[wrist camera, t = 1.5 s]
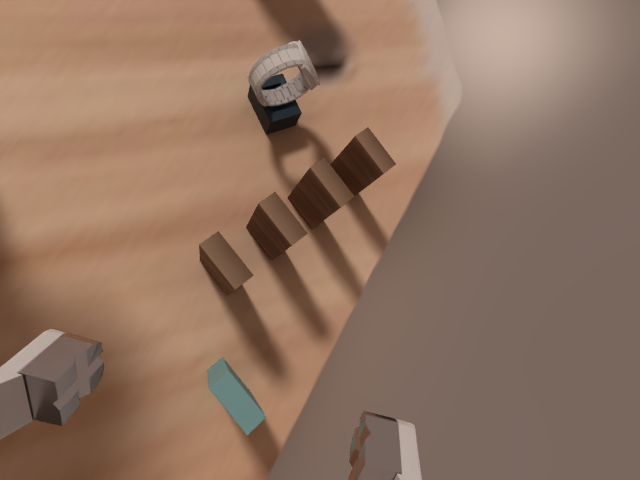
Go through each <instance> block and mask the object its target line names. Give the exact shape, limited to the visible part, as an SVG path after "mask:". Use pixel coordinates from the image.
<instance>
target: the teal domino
mask: <svg viewBox="0 0 640 480" xmlns="http://www.w3.org/2000/svg"><path fill="white" fill-rule="evenodd" d="M207 374H208V384H209V389H210V391H211V392H212V393H213V394H214V395H215V397H216V398H217V399H218V400H219V402H220V403H221V404H222V405H223V406H224V408H225V409H226V410H227V411H228V413H229V414H230V415H231V416H232V418H233V419H234V420H235V421H236V422H237V424H238V425H239V426H240V427H241V429H242V430H243V431H244V432H245V434H246V435H248V434H249V433H250V432H251V431H252V430H254V429H255V428H256V427H257V426H258V425H259V424H260V423H261V422H262V421H263V420H264V419H265V418H266V416H265V414H264V413H263V411H262V409H261V408H260V406H259V405H258V403H257V401H256V400H255V398H254V397H253V395H252V393H251V392H250V391H249V389H248V388H247V387H246V386H245V384H244V383H243V382H242V381H241V380H240V378H239V377H238V376H237V375H236V373H235V372H234V371H233V370H232V368H231V367H230V366H229V365H228V363H227V362H226V361H225V360H224V358H223V357H222V358H221V359H220V360H219V361H217V362H216V363H215V364H214V365H213V366H212V367H210V368H209V369H208V370H207Z"/></svg>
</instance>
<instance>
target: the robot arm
mask: <svg viewBox="0 0 640 480" xmlns="http://www.w3.org/2000/svg"><path fill="white" fill-rule="evenodd" d="M102 352H103V349H102V343H100V342H97V341H93V340H90V339H86V338H83V337H80V336H76V335H73V334H69V333H66V332H62V331H58V330H55V329H49V330H46V331H44V332H43V333H42V334H40V335H39V336H38V337H37V338H35V339H34V340H33V341H32V342H31V343H29V344H28V345H27V346H26V347H24V348H23V349H22V350H21V351H19V352H18V353H17V354H16V355H15V356H13V357H12V358H11V359H10V360H8V361H7V362H6V363H5V364H4V365H2V366H1V367H0V440H1V439H2V438H4V437H6V436H8V435H9V434H11V433H13V432H15V431H16V430H18V429H20V428H22V427H23V426H25V425H27V424H29V423H30V422H32V421H33V420H38V421H42V422H46V423H51V424H55V425H59V426H63V425H64V424H65V423H66V422H67V420H68V419H69V418H70V417H71V416H72V415H73V413H74V412H75V411H76V410H77V409H78V407H79V406H80V398H82V397H84V396H86V395H88V394H90V393H91V392H92V391H93V390H94V388H95V387H96V386H97V385H98V383H99V381H100V379H101V377H102V375H103V370H104V362H103V360H102V359H101V358H100V357H99V355H100V354H101V353H102ZM32 419H33V420H32ZM349 462H350V464H351V466H352V470H351V473H350V475H349V477H348V480H422V477H421V470H420V462H419V455H418V447H417V440H416V432H415V427H414V425H413V424H412V423H408V422H405V421H401V420H396V419H394V418H391V417H386V416H383V415H378V414H374V413H370V412H366V411H364V412H363V413H362V414H361V417H360V424H359V427H357V428H356V429H355V431H354V434H353V437H352V442H351V447H350V458H349Z"/></svg>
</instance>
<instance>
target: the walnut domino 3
mask: <svg viewBox="0 0 640 480" xmlns="http://www.w3.org/2000/svg"><path fill="white" fill-rule="evenodd" d="M353 197H355V196H354V195H353V194H352V192H351V191H350V190H349V189H348V187H347V186H346V185H345V183H344V182H343V181H342V179H341V178H340V177H339V176H338V174H337V173H336V172H335V170H334V169H333V168H332V166H331V165H330V164H329V162H328V161H327V160H326V159H325V158H323V159H322V160H320V161H319V162H317V163H316V164H314V165H313V166H312V167H310V168H309V170H308V171H307V172H306V174H305V175H304V176H303V178H302V179H301V180H300V182H299V183H298V184H297V186H296V187H295V188H294V190H293V191H292V192H291V194H290V195H289V196H288V199H289V200H290V201H291V203H292V204H293V205H294V206H295V208H296V209H297V210H298V212H299V213H300V214H301V215H302V217H303V218H304V219H305V221H306V222H307V223H308V224H309V226H310V227H311V228H312V229H313V228H314V227H315V226H317V225H318V224H319V223H321V222H322V221H323V220H325V219H326V218H327V217H329V216H330V215H331V214H333V213H334V212H335V211H337V210H338V209H339V208H341V207H342V206H343V205H344V204H346V203H347V202H348V201H349V200H351V199H352V198H353Z"/></svg>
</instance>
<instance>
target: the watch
mask: <svg viewBox="0 0 640 480" xmlns="http://www.w3.org/2000/svg"><path fill="white" fill-rule="evenodd" d="M270 53H271V54H270ZM278 55H279V56H278ZM279 57H280V58H279ZM270 59H271V60H270ZM280 59H281V60H280ZM271 61H272V62H271ZM281 61H282V62H281ZM272 63H273V64H272ZM282 63H283V64H282ZM294 66H298V68H299V70H300V72H299V74H298V75H297V76H296V77H294V79H292V80H291V81H289V82H288V83H289V84H288V83H287V82H286V80H285V78H284V76H283V74H279V75H275V74H277V73H279V71H283V70H285V69H287V68H291V67H294ZM278 69H279V70H278ZM273 75H275V76H273ZM248 80H249V83H250V88H249V92H248V98H249V100H250V102H251V104H252V106H253V109H254V111H255V113H256V115H257V117H258V119H259V121H260V123H261V125H262V127H263V129H264V131H265V134H270V133H273V132H276V131H279V130H282V129H285V128H288V127H292V126H295V125H296V123H297V121H298V119H299V117H300V115H301V111H300V109H299V106H298V104H297V102H296V99H297V98H299V97H301V96H302V95H303V94H305V93H306V92H307V91H308V90H309V89H310V90H312V89H314V88H315V87H316V86H317V85H320V81H319V78H318V75H317V73H316V70H315V68H314V66H313V64H312V62H311V60H310V58H309V55H308V53H307V51H306V49H305V48H304V46H303V44H302V43H301V41H300V40H299V41H298V42H297V41H292V42H289V43H288V44H287V45H282V46H280V47H277V48H275V49H273V50H271V51H270V52H268V53H266V54H265V55H263V56H262V57H261V58H260V59H259V60H258V61H257V62H256V63H255V64H254V66H253V67H252V69H251V71H250V74H249V76H248ZM289 85H290V86H289Z"/></svg>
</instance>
